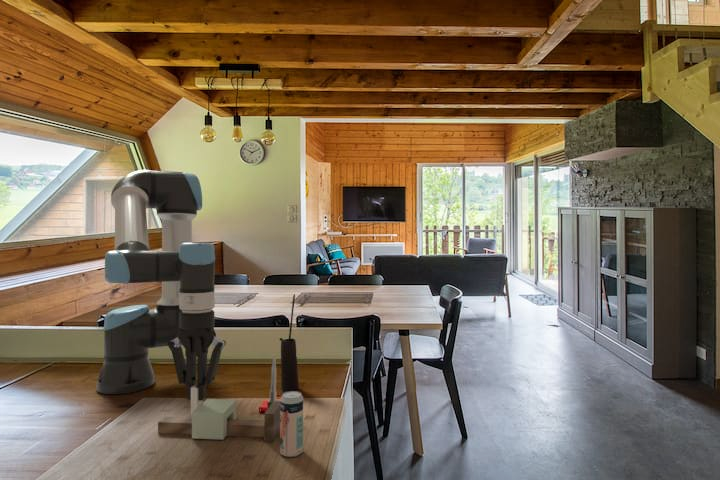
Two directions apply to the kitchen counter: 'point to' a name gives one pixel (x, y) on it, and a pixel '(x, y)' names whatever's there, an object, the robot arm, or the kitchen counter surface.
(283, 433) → the beer can
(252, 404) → the kitchen counter surface
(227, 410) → the slider
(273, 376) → the tow hook
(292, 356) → the butter churn
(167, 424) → the rail
